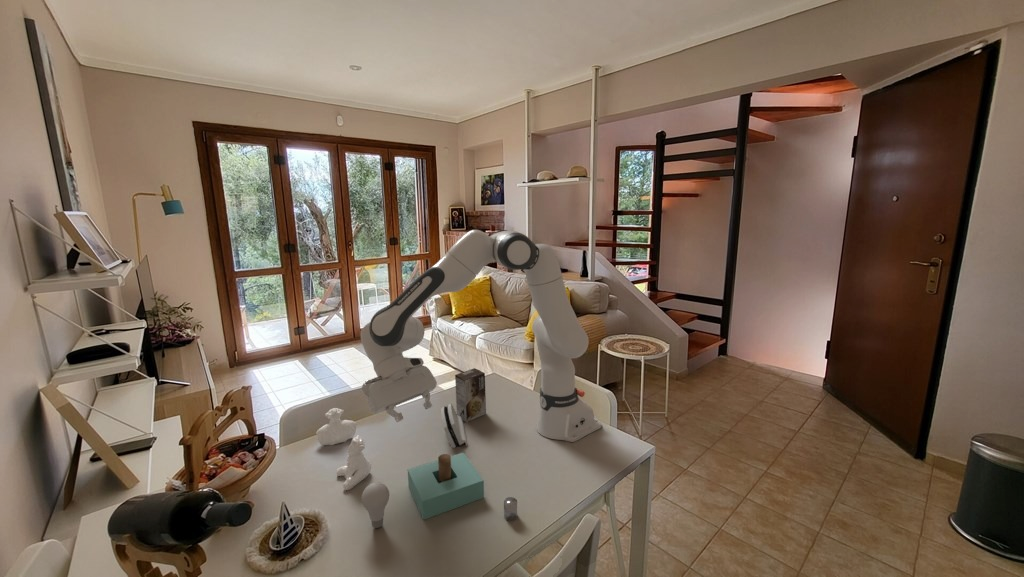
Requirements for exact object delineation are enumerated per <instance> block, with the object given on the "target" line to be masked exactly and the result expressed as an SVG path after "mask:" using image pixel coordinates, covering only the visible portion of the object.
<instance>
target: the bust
mask: <svg viewBox="0 0 1024 577" xmlns="http://www.w3.org/2000/svg"><path fill="white" fill-rule="evenodd" d="M344 412H345V410H344V409H341V408H338V407H333V408H330V409H329V410H328V411H327V412H326V413H324V416H325V417H326V418H327V420H329V419H330V420H329V421H328V422H329V423H326V424H324V425H323V426H321V427H320V428H318V429H317V431H316V433H315V436H316V439H317V440H318V443H319V444H320V445H321V446H335V445H337V444H341V443H345V442H347V441H348V440H350V439H353V437H355V434H356V430H357V423H356V422H355V421H354V420H349V419H344V420H342V419H341V417H342V415H343V414H344Z"/></svg>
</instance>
